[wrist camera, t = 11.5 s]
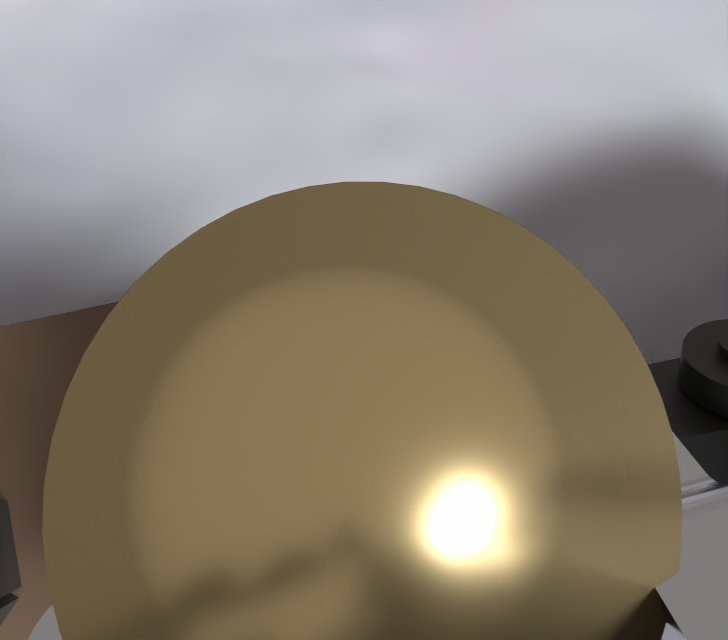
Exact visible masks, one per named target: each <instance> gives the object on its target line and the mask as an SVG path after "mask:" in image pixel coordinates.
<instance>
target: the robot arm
mask: <svg viewBox="0 0 728 640" xmlns="http://www.w3.org/2000/svg"><path fill="white" fill-rule="evenodd" d="M648 367H649V369H650V371H651V374H652V376H653V379H654V381H655V383H656V386H657V388H658V390H659V393H660V395H661V397H662V400H663V404H664V407H665V411H666V414H667V417H668V421H669V424H670V427H671V431H672V434H673V438H674V444H675V450H676V455H677V461H678V467H679V472H680V482H681V498H682V514H683V519H682V538H681V557H680V563H679V569H678V573H677V574H676V575H674V576H672V577H671V578H669V579H668V580H666V581H664V582H663V583H661V584H660V585H658V586H657V587H655V589H656V592H657V595H658V598H659V601H660V604H661V607H662V610H663V613H664V616H665V620H666V626H665V629H664V632H663V636H662V639H661V640H728V320H717V321H712V322H708V323H704V324H702V325H699V326H697V327H696V328H694V329H692V330H691V331H690V332H689V333H688V334H687V336H686V337H685V339H684V341H683V345H682V352H681V358H678V359H673V360H668V361H663V362H658V363H653V364H648ZM28 640H63V639H62V636H61V634H60V631H59V628H58V624H57V620H56V616H55V612H54V608H53V604H52V605H51V606H50V607H49V609H48V610H47V611H46V612H45V613H44V615H43V616H42V617H41V618H40V620H39V621H38V623H37V624H36V626H35V627H34V629H33V631H32V633H31V635H30V637H29V639H28Z"/></svg>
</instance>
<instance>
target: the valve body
mask: <svg viewBox="0 0 728 640" xmlns="http://www.w3.org/2000/svg"><path fill="white" fill-rule="evenodd" d="M682 519H683V514H682V498H681V482H680V472H679V467H678V461H677V455H676V450H675V444H674V438H673V434H672V431H671V427H670V424H669V421H668V417H667V414H666V411H665V407H664V404H663V400H662V397H661V395H660V393H659V390H658V388H657V386H656V383H655V381H654V379H653V376H652V374H651V371H650V369H649V367H648V364H647V362H646V360H645V359H644V357H643V355H642V353H641V352H640V350H639V348H638V346H637V344H636V343H635V341H634V339H633V337H632V336H631V334H630V332H629V330H628V329H627V327H626V326H625V324H624V323H623V322H622V320H621V319H620V318H619V316H618V315H617V313H616V312H615V311H614V309H613V308H612V306H611V305H610V304H609V302H608V301H607V300H606V298H605V297H604V296H603V295H602V294H601V293H600V292H599V291H598V289H597V288H596V287H595V286H594V285H593V284H592V283H591V282H590V281H589V280H588V278H587V277H586V276H585V275H584V274H583V273H582V272H581V271H580V270H579V269H578V268H577V267H576V266H574V265H573V264H572V263H571V262H570V261H569V260H568V259H566V258H565V257H564V256H563V255H562V254H561V253H560V252H558V251H557V250H556V249H555V248H554V247H553V246H551V245H550V244H548V243H547V242H545V241H544V240H542V239H541V238H540V237H538V236H537V235H535V234H534V233H532V232H531V231H529V230H528V229H526V228H525V227H523V226H522V225H520V224H518V223H516V222H514V221H512V220H511V219H509V218H507V217H505V216H503V215H501V214H499V213H497V212H495V211H493V210H492V209H490V208H487V207H484V206H482V205H479V204H477V203H474V202H471V201H469V200H466V199H464V198H461V197H458V196H456V195H452V194H448V193H444V192H440V191H436V190H432V189H428V188H424V187H420V186H412V185H404V184H396V183H388V182H340V183H332V184H324V185H316V186H308V187H304V188H300V189H296V190H292V191H288V192H284V193H280V194H276V195H272V196H269V197H267V198H264V199H261V200H259V201H256V202H254V203H251V204H249V205H246V206H244V207H241V208H238V209H236V210H234V211H232V212H230V213H228V214H226V215H224V216H223V217H221V218H219V219H217V220H215V221H213V222H212V223H210V224H208V225H206V226H204V227H202V228H201V229H199V230H198V231H196V232H195V233H193V234H192V235H191V236H189V237H188V238H186V239H185V240H184V241H182V242H181V243H180V244H178V245H177V246H175V247H174V248H173V249H171V250H170V251H169V252H167V253H166V254H165V255H164V256H163V257H162V258H160V259H159V260H158V261H157V262H156V263H155V264H154V265H153V266H152V267H151V268H150V269H149V270H148V271H147V272H146V273H144V274H143V275H142V276H141V277H140V278H139V279H138V280H137V281H136V282H135V283H134V284H133V286H132V287H131V288H130V289H129V290H128V292H127V293H126V294H125V295H124V296H123V298H122V299H121V300H120V301H119V303H118V304H117V305H116V306H115V307H114V309H113V310H112V311H111V312H110V313H109V315H108V316H107V318H106V319H105V321H104V322H103V324H102V326H101V327H100V329H99V330H98V332H97V334H96V335H95V337H94V338H93V340H92V342H91V343H90V345H89V346H88V348H87V350H86V351H85V353H84V355H83V357H82V359H81V361H80V364H79V366H78V368H77V370H76V372H75V374H74V377H73V379H72V381H71V383H70V385H69V388H68V390H67V392H66V394H65V397H64V401H63V404H62V407H61V410H60V413H59V417H58V420H57V423H56V426H55V430H54V433H53V436H52V440H51V446H50V452H49V458H48V464H47V469H46V475H45V481H44V495H43V524H42V536H43V546H44V556H45V566H46V576H47V583H48V587H49V592H50V596H51V600H52V604H53V608H54V612H55V616H56V620H57V624H58V628H59V631H60V634H61V636H62V639H63V640H661V639H662V636H663V632H664V629H665V626H666V620H665V616H664V613H663V610H662V607H661V604H660V601H659V598H658V595H657V592H656V589H655V587H657V586H658V585H660V584H661V583H663V582H664V581H666V580H668V579H669V578H671V577H672V576H674V575H676V574H677V573H678V569H679V563H680V557H681V538H682Z"/></svg>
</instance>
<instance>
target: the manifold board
mask: <svg viewBox="0 0 728 640" xmlns="http://www.w3.org/2000/svg"><path fill="white" fill-rule="evenodd" d="M118 303H119V302H116V303H111V304H106V305H101V306H97V307H92V308H87V309H82V310H78V311H73V312H68V313H64V314H59V315H54V316H49V317H45V318H40V319H35V320H31V321H26V322H21V323H16V324H12V325H7V326H2V327H0V640H28V639H29V637H30V635H31V633H32V631H33V629H34V627H35V626H36V624H37V623H38V621H39V620H40V618H41V617H42V616H43V615H44V613H45V612H46V611H47V610H48V609H49V607H50V606H51V605H52V600H51V596H50V592H49V587H48V583H47V576H46V566H45V556H44V546H43V536H42V524H43V495H44V481H45V475H46V469H47V464H48V458H49V452H50V446H51V440H52V436H53V433H54V430H55V426H56V423H57V420H58V417H59V413H60V410H61V407H62V404H63V401H64V397H65V394H66V392H67V390H68V388H69V385H70V383H71V381H72V379H73V377H74V374H75V372H76V370H77V368H78V366H79V364H80V361H81V359H82V357H83V355H84V353H85V351H86V350H87V348H88V346H89V345H90V343H91V342H92V340H93V338H94V337H95V335H96V334H97V332H98V330H99V329H100V327H101V326H102V324H103V322H104V321H105V319H106V318H107V316H108V315H109V313H110V312H111V311H112V310H113V309H114V307H115V306H116V305H117V304H118Z"/></svg>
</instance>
